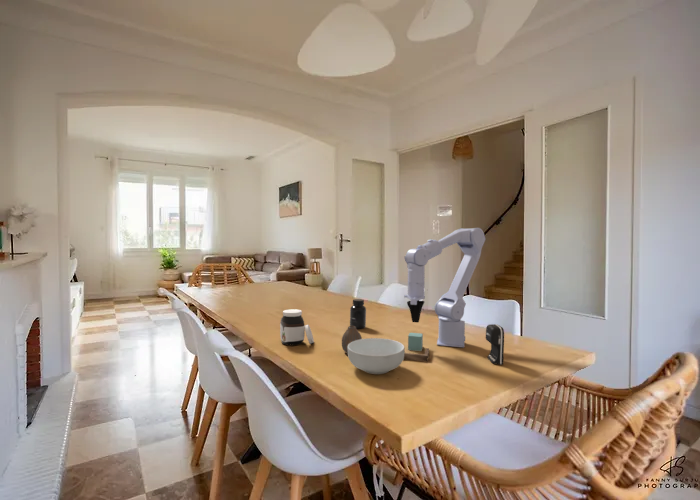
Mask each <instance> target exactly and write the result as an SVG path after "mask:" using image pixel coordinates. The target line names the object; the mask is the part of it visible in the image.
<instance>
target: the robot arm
mask: <svg viewBox="0 0 700 500" xmlns="http://www.w3.org/2000/svg"><path fill="white" fill-rule="evenodd" d="M486 240H487V239H486V236H485V233H484V231H483V229H482V228H480V227H473V228H462V227H461V228H458V229H455V230H453V231H452V232H451V233H449V234H447V235H445V236H444V237H442V238H440V239H438V240H437V239H432V238H431V239H427V242H425V243H423V244H419V245H417V246H416V248H410V249H408V251H407V252H406V254H405V256H404V262H405V263H406V266H407V268H406V269H407V294H404V298H407V299H408V301H407V302H406V304H407V306H408V309H409V312H410V317H411V321H412V323H419V322H420V319H421V313H422V308H423V306H424V304H425V301H424V299H425V298H426V296H425V271H426V269H425V266H426V265H427V264H428V262H429V261H430V260H432V259H433V258H435V257H437V256H440V255H441V254H442V252H443V250H444V249H446V248H448V247H449V246H453V245H455V244H457V246H458V247H459V249H460V250H461V252H462V253H463V257H462V260H461V262H460V264H459V266H458V269H457V270H456V273H455V276H454V278H453V280H452V282H451V284H450V287H449V289H448V291H447V292H445V293H443V294H442V295H441V296H440V298H439V300H437V301H436V303H435V304H434V312H435V314H436V315H437V318H438V338H437V340H436V345H437V346H444V347H453V348H454V347H455V348H465V342H466V336H465V335H466V333H465V332H466V331H465V330H466V327H465V326H466V325H465V324H466V323H465V322H466V321H465V320H462V318H463V317H464V314H465V308H466V301H465V300H464V298H463V297H464V295H465V293H466V291H467V287H468V285H469V283H470V281H471V279H472V277H473V275H474V271H475V270H476V267H477V265H478V263H479V260H480V258H481V255H482V248H483V247H484V244H485V242H486Z"/></svg>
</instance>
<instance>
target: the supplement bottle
mask: <svg viewBox="0 0 700 500" xmlns="http://www.w3.org/2000/svg"><path fill="white" fill-rule="evenodd" d="M364 305H365V300H364V299H359V298H356V299H355V298H354V299H352V306H350V308H349V309H350V310H349V326H355V327H356V329H357V330H364V329H365V328H366V326H367V324H366V323H367V322H366V321H367V318H366V317H367V308H366V306H364Z"/></svg>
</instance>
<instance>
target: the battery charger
mask: <svg viewBox="0 0 700 500" xmlns="http://www.w3.org/2000/svg"><path fill="white" fill-rule="evenodd" d="M485 340H486V341H487V342H488V343H490V352H489V354H488V356H487V359H488V360H489V361H490V362H491V364H493V365H504V359H505V358H504V355H505V353H504V351H505V329H504V328H503V327H502V326H501V325H499V324H496V323H495V324H493V323H491V324H487V325H486V329H485Z"/></svg>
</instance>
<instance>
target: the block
mask: <svg viewBox="0 0 700 500" xmlns="http://www.w3.org/2000/svg"><path fill="white" fill-rule="evenodd" d="M423 335H424V333H420V332H409V333H408V335H407V337H408V338H407V344H408V345H407V350H408V351H414V352H415V351H416V352H422V350H423V348H424V347H423V345H424V344H423V342H424V341H423Z"/></svg>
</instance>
